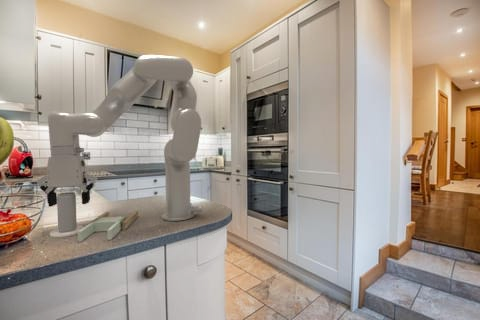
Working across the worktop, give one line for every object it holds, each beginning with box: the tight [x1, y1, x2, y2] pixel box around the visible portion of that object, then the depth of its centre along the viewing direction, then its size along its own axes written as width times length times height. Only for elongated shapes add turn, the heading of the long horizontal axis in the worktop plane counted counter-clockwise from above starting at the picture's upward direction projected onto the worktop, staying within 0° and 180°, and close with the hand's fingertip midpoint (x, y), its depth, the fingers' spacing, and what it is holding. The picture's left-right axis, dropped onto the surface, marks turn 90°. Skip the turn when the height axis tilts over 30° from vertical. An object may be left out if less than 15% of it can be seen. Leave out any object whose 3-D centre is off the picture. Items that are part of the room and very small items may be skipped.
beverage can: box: [56, 192, 77, 232], centre depth 74 cm, size 5×5×12 cm
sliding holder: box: [77, 216, 127, 243], centre depth 74 cm, size 9×14×3 cm, turn 9°
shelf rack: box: [86, 210, 139, 231], centre depth 83 cm, size 12×15×2 cm
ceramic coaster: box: [49, 224, 85, 239], centre depth 74 cm, size 9×9×1 cm
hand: (69, 204), depth 74 cm, fingers open, 9 cm apart
